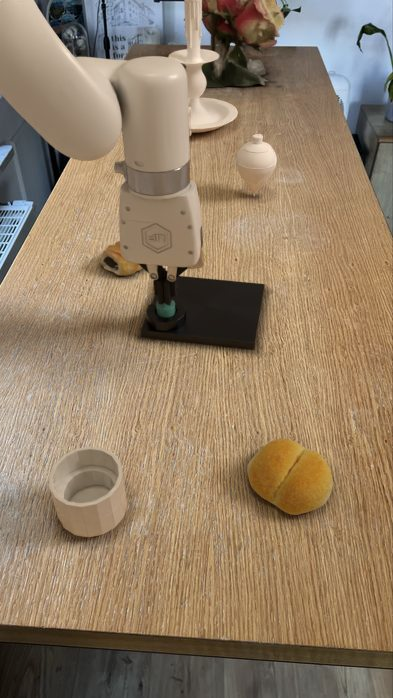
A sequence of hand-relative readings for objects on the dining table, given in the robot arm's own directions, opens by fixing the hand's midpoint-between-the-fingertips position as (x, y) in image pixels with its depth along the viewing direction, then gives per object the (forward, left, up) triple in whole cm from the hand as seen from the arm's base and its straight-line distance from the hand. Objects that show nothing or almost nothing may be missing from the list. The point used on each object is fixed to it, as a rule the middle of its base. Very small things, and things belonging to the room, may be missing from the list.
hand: (166, 298), depth 81 cm
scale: (+5, +4, -5) cm, 8 cm away
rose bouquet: (-8, +117, -5) cm, 117 cm away
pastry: (-10, +15, -5) cm, 19 cm away
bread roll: (+19, -24, -5) cm, 31 cm away
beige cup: (-1, -31, -5) cm, 32 cm away
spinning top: (+8, +42, -5) cm, 43 cm away
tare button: (0, 0, -2) cm, 2 cm away
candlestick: (-10, +74, -5) cm, 75 cm away
